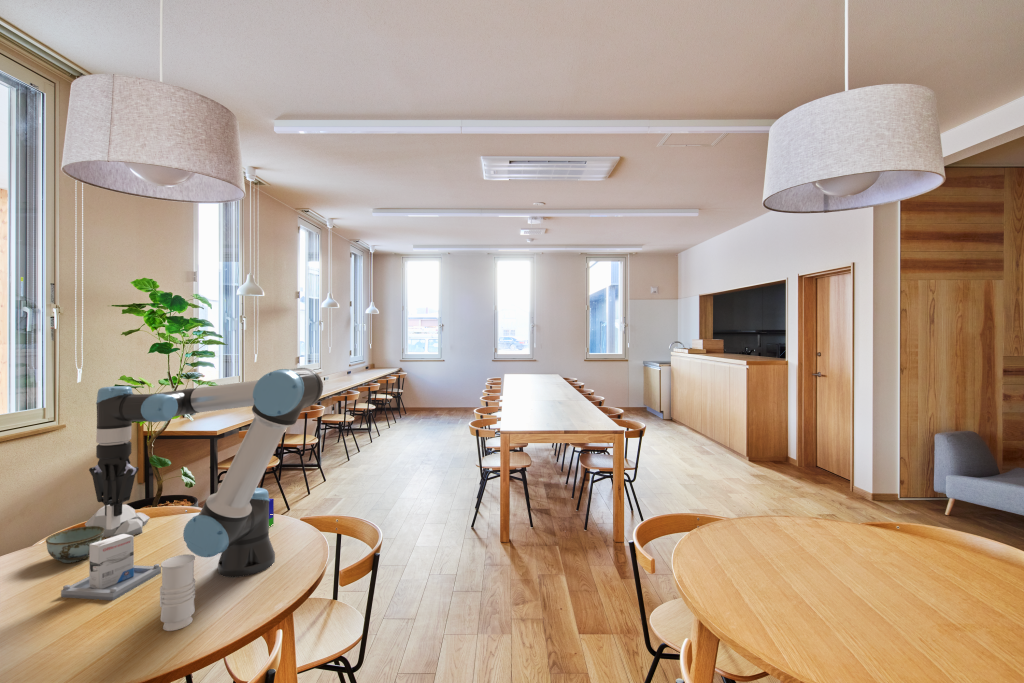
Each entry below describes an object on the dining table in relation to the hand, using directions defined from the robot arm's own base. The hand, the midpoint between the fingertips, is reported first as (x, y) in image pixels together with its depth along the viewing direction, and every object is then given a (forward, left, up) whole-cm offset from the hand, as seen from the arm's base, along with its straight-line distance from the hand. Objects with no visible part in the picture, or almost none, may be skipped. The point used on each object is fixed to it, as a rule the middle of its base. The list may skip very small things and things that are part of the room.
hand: (113, 527), depth 133 cm
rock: (+32, -34, -16) cm, 50 cm away
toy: (-13, -41, -16) cm, 46 cm away
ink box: (0, 0, -15) cm, 15 cm away
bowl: (+26, -13, -16) cm, 33 cm away
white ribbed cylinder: (-32, +15, -16) cm, 39 cm away
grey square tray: (0, 0, -16) cm, 16 cm away
